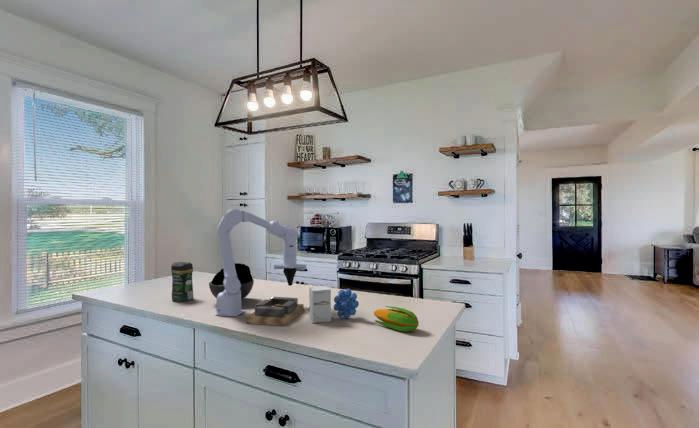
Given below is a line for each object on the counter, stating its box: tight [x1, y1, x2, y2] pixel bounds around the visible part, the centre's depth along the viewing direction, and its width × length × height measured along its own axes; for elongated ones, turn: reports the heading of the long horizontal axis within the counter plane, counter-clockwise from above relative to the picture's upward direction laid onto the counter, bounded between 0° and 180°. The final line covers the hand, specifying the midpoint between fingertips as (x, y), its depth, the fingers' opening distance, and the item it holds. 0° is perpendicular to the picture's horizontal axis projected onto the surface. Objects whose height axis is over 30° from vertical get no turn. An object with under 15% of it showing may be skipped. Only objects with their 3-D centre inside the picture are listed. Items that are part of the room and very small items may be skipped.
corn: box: [373, 305, 420, 333], centre depth 125 cm, size 7×8×20 cm
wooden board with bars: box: [245, 299, 305, 327], centre depth 140 cm, size 16×20×6 cm
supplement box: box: [308, 285, 332, 324], centre depth 135 cm, size 7×7×13 cm
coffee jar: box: [170, 261, 194, 302], centre depth 168 cm, size 10×8×19 cm
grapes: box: [333, 288, 360, 320], centre depth 137 cm, size 12×7×12 cm, turn 58°
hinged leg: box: [269, 296, 299, 306], centre depth 147 cm, size 12×3×3 cm, turn 75°
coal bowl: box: [208, 260, 255, 301], centre depth 162 cm, size 20×20×19 cm
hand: (290, 285), depth 155 cm, fingers closed
